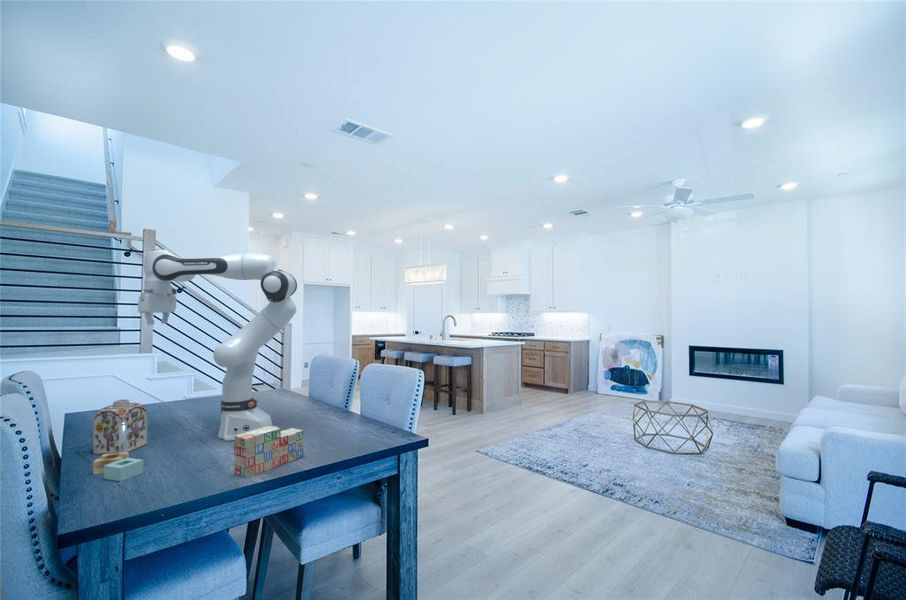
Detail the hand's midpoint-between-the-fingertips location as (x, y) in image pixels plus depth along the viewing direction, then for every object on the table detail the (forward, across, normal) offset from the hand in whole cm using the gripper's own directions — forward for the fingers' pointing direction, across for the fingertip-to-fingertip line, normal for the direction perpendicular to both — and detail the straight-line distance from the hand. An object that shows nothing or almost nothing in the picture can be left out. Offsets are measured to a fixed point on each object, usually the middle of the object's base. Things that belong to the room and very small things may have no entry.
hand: (157, 324), depth 173 cm
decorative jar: (+46, -14, +6) cm, 48 cm away
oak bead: (+46, -34, -4) cm, 57 cm away
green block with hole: (+46, -40, -12) cm, 62 cm away
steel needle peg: (+46, -26, -3) cm, 53 cm away
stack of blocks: (+46, -36, -55) cm, 81 cm away
